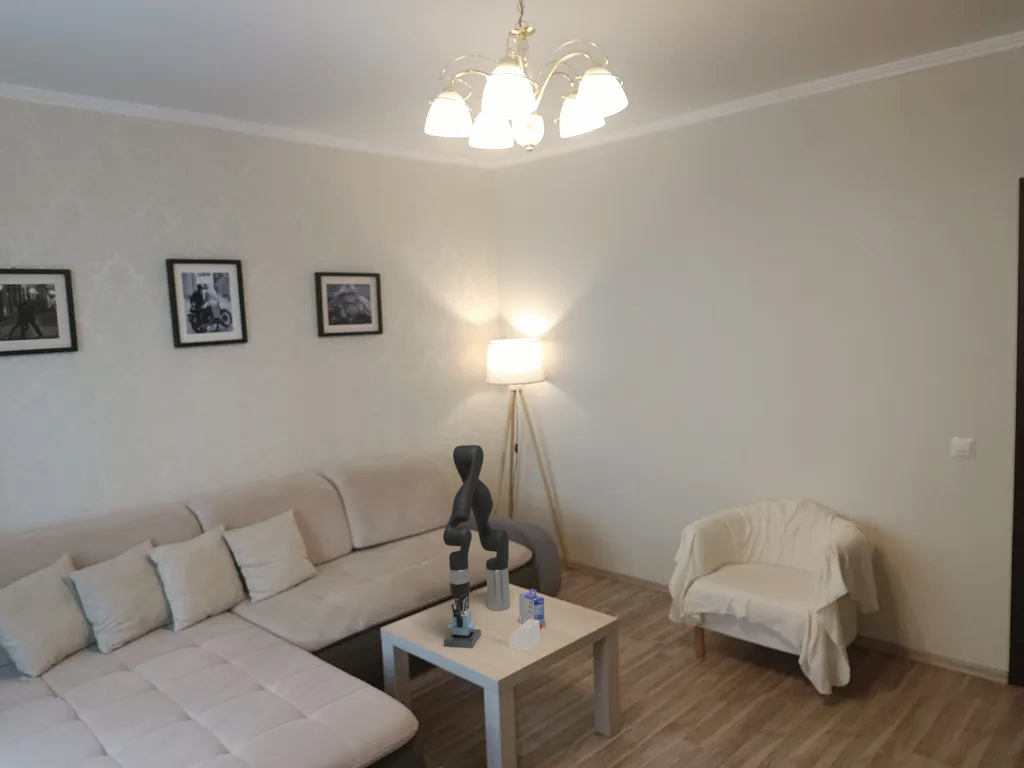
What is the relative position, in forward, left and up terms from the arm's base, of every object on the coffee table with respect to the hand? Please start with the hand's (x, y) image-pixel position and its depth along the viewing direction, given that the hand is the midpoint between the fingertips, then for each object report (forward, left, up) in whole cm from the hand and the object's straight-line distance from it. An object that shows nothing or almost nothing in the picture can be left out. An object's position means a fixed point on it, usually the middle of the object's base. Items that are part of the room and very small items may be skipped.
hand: (461, 624), depth 267 cm
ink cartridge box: (-17, +23, -7) cm, 30 cm away
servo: (0, 0, -3) cm, 3 cm away
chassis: (0, 0, -6) cm, 6 cm away
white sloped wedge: (-3, +25, -7) cm, 26 cm away
